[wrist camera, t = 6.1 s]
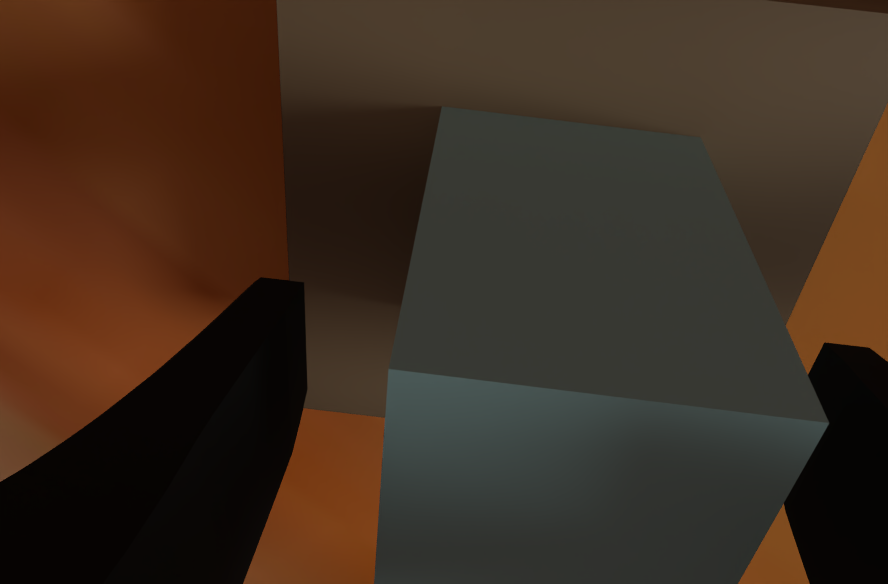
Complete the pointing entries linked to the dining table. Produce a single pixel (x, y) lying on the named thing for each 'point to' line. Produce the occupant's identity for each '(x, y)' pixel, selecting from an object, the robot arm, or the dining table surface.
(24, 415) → the dining table surface
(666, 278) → the block
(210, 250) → the dining table surface
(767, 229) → the base
